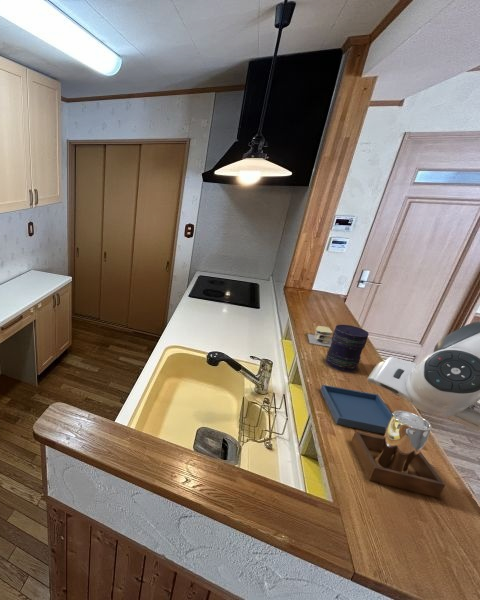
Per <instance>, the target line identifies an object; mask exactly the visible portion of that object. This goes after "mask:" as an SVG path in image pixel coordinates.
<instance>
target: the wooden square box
mask: <svg viewBox="0 0 480 600" xmlns="http://www.w3.org/2000/svg"><path fill="white" fill-rule="evenodd" d="M350 444H351V446H352V449H353V450H354V452H355V454H356V456H357V458H358V460H359V462H360V464H361V466H362V468H363V470H364V472H365V474H366V476H367V479H368V480H369V481H371V482H375V483H380V484H383V485H387V486H390V487H395V488H399V489H403V490H406V491H411V492H415V493H418V494H422V495H426V496H429V497H434V498H439V497H440V496H441V494H442V492H443V490H444V488H445V486H446V484H445V483H444V482H443V480H442V478H440V476H439V475H438V473H437V472H436V471H435V470H434V468H433V466H432V465H431V463H429V461H428V459H427V458H426V457H425V456H424V454H423V453H422V451H420V452H419V453H418V454H417V456H416V457H415V458H414V459H413V460H412V461H411V463H410V464H411V465H412V467H413V468H414V470H415V472H416V473H417V474H418V475H415V474H411V473H408V474H407V473H403V472H399V471H395V470H390V469H386V468H382V467H378V466H377V465H376V463H375V458H373V456H372V454H371V452H370V450H373V451H378V452H381V449H382V445H383V436H378V435H374V434H369V433H366V432H365V433H364V432H360V431H354V433H353V436H352V438H351V440H350Z"/></svg>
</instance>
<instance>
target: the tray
mask: <svg viewBox="0 0 480 600" xmlns="http://www.w3.org/2000/svg"><path fill="white" fill-rule="evenodd" d="M320 393H321V395H322V397H323V399H324V401H325V404H326V406H327V407H328V410H329V412H330V414H331V416H332V417H333V420H334V422H335V424H336V425H339V426H343V427H349V428H353V429H359V430H363V431H366V432H367V431H368V432H371V433H377V434H381V435H384V431H385V428H386V425H387V423H388V421H389V419H390V417H391V416H392V414H393V412H391V410H390V409H389V408H388V406H387V404H386V403H385V402H384V401H383V399H382V398H381V396H380V395H379V394H376V393H371V392H366V391H359V390H354V389H349V388H342V387H337V386H333V385H332V386H331V385H328V384H327V385H326V384H321V387H320Z"/></svg>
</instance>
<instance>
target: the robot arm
mask: <svg viewBox="0 0 480 600" xmlns="http://www.w3.org/2000/svg"><path fill="white" fill-rule="evenodd" d="M367 381H368V382H369V383H371V384H373V385H375V386H378V387H380V388H382V389H385V390H387V391H388V392H391V394H393V395H395V396H398V397H400V398H402V399H404V400H405V401H406V402H408V403H410V404H411V405H412V406H414V408H416V409H417V410H419V411H421V412H424V413H426V414H429V415H431V416H432V415H433V416H438V417H445V418H447V419H448V420H450V421H451V422H454V423H455V424H456V423H457V424H458V423H459V424H461V425H463V426H465V427H467V428H469V429H472V430H473V431H476V432H479V433H480V402H479V401H480V321H474V322H470V323H467V324H466V325H463V326H461V327H459V328H457V329H456V330H454V331H452V332H450V333H448V334H447V335H446V336H444V337H443V338H441V339H440V340H439V341H438V342H437V343H436V344H435V346H434V348H433V352H431V353H429V354H427V355H426V356H424V357H423V358H421V359H420V360H419V361H417V362H413V361H410V360H405V359H402V358H399V357H395V356H388V357H387V359H385V360H384V361H379V362H378V363H376V365H375V366H374V368H373V369H372V370H371V372H370V373H369V376H368V377H367Z"/></svg>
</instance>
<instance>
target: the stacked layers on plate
mask: <svg viewBox="0 0 480 600" xmlns="http://www.w3.org/2000/svg"><path fill="white" fill-rule="evenodd" d="M314 333H315V334H310V333H307V334H306V335H307V338H308V342H309V344H312V345H317V346H324V347H328V348H330V346H331V343H332V337H331V336H333V330H332V329H331V328H330V327H329V326H323V325H317V326H316V328H315V330H314Z"/></svg>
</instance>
